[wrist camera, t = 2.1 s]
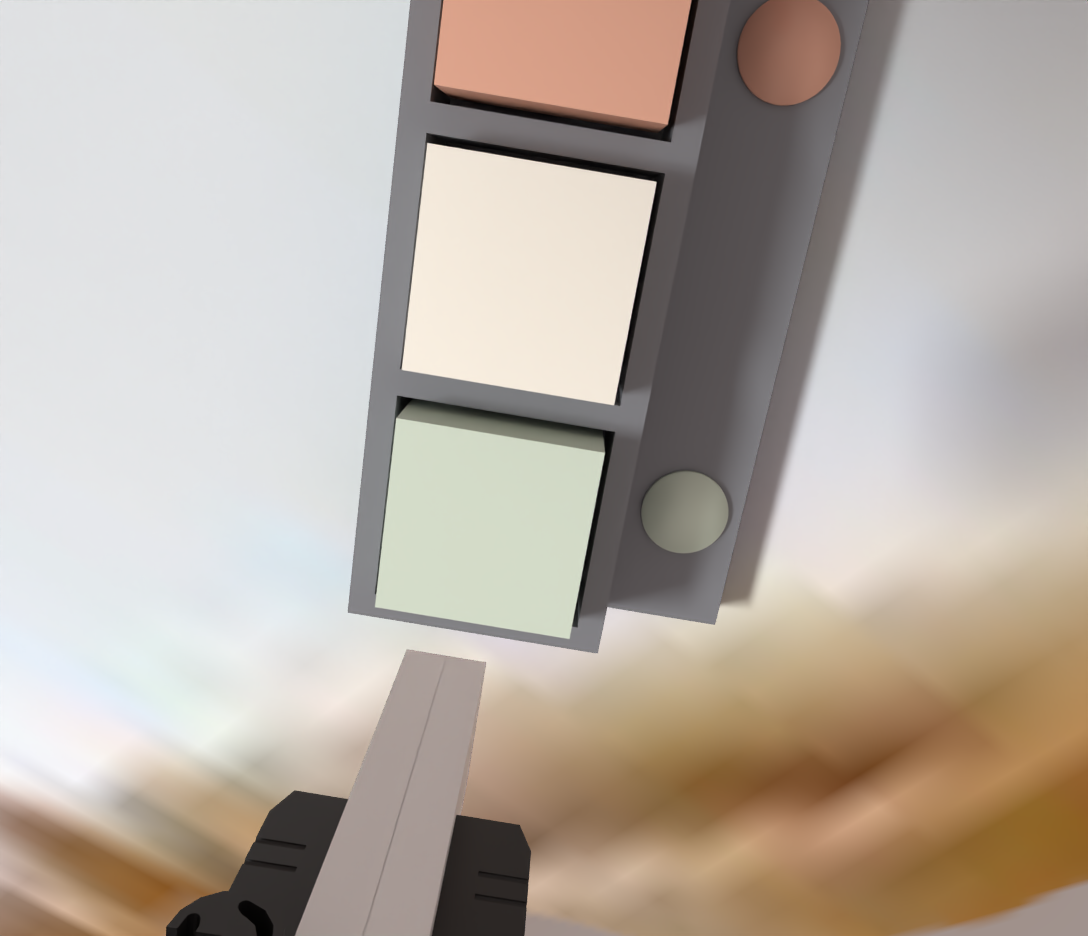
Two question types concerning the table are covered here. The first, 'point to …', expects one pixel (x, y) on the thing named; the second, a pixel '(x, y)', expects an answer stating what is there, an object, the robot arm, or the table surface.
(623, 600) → the keypad
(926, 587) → the table surface
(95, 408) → the table surface
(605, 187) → the cream key
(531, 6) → the terracotta key
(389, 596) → the sage key
